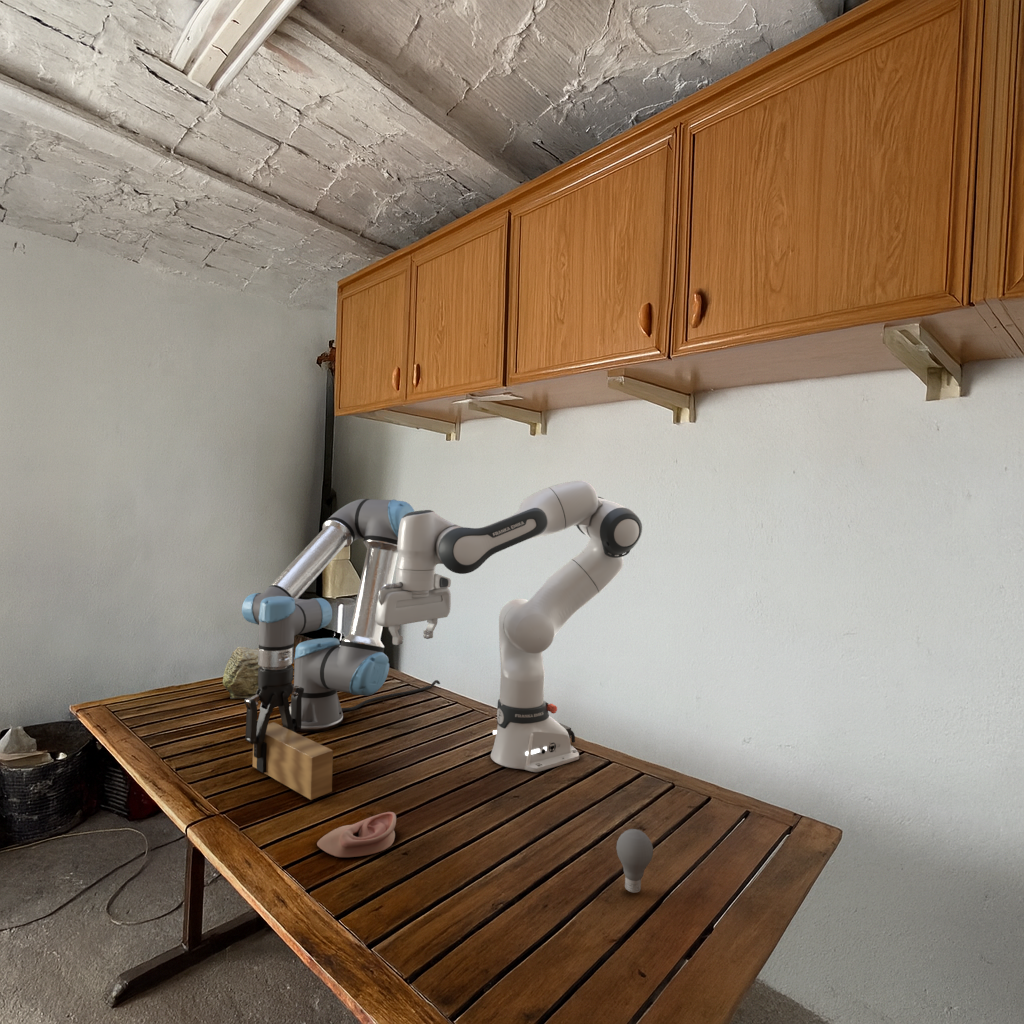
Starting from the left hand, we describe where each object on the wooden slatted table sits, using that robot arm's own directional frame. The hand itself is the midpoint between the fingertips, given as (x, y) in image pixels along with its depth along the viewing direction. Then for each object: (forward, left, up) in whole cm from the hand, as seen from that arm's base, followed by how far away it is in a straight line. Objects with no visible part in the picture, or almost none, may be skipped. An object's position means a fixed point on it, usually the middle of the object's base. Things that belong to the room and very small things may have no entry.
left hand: (273, 766), depth 144 cm
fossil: (-26, -54, -1) cm, 60 cm away
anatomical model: (+5, +38, -1) cm, 38 cm away
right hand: (-20, +23, +30) cm, 43 cm away
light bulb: (-16, +83, -1) cm, 84 cm away
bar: (0, +7, -1) cm, 7 cm away
